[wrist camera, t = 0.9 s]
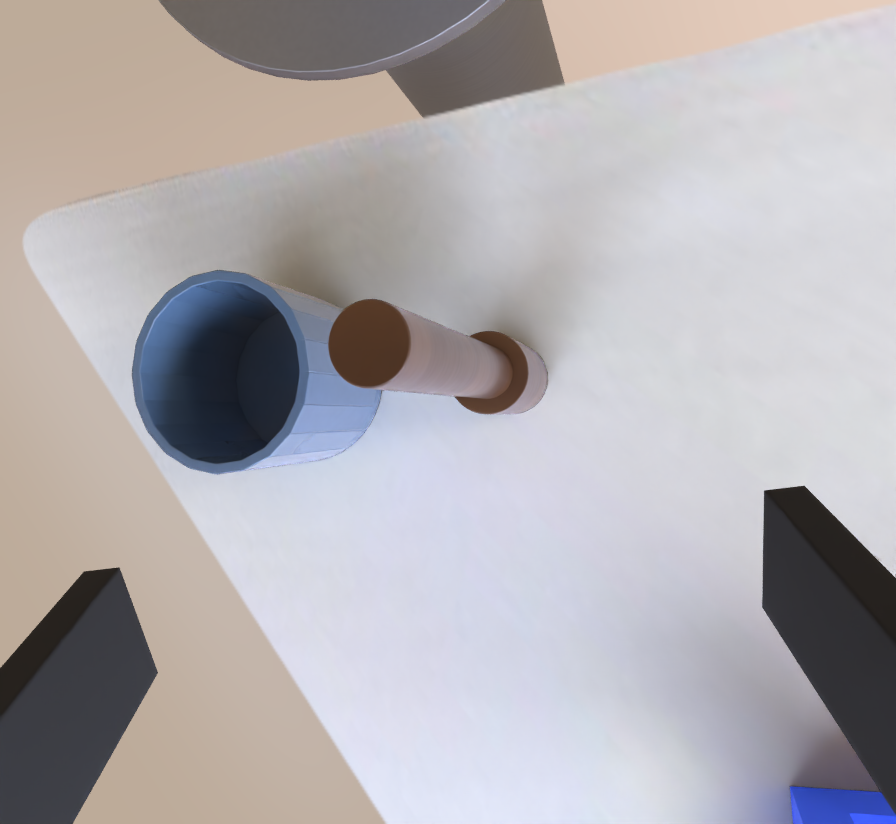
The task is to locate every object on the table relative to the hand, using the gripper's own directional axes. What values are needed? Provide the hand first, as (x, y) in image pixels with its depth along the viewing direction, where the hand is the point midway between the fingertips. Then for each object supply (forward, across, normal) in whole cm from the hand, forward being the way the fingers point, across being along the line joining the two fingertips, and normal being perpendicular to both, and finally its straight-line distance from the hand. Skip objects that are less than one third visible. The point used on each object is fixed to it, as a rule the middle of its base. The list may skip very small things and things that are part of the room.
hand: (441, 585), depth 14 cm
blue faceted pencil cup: (+27, -9, -3) cm, 29 cm away
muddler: (+24, +3, -4) cm, 24 cm away
